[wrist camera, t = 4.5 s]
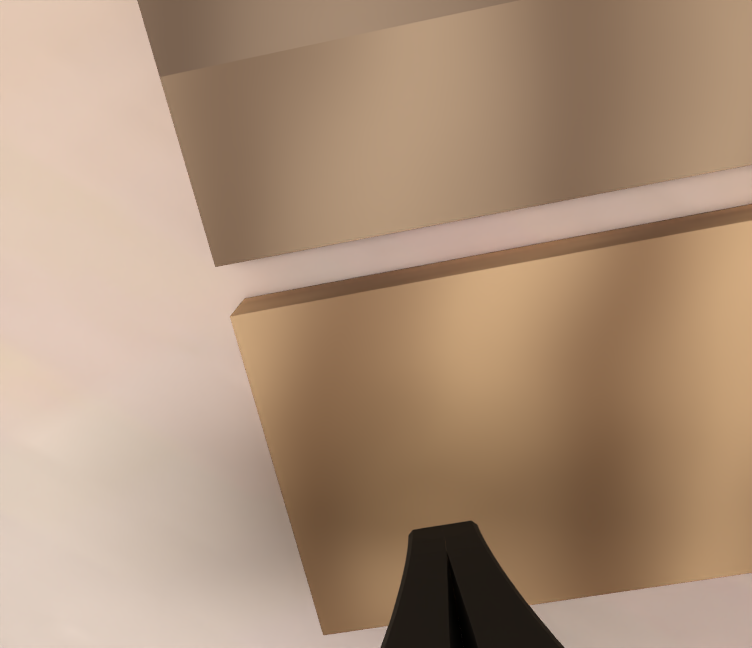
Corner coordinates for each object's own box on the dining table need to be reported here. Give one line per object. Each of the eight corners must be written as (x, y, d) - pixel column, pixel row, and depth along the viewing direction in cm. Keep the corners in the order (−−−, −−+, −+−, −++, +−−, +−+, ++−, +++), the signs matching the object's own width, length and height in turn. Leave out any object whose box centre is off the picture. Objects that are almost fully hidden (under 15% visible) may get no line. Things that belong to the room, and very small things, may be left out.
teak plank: (970, 163, 13) (1043, 166, 11) (915, 505, 16) (967, 541, 15) (244, 298, 14) (230, 316, 13) (327, 594, 17) (323, 635, 16)
